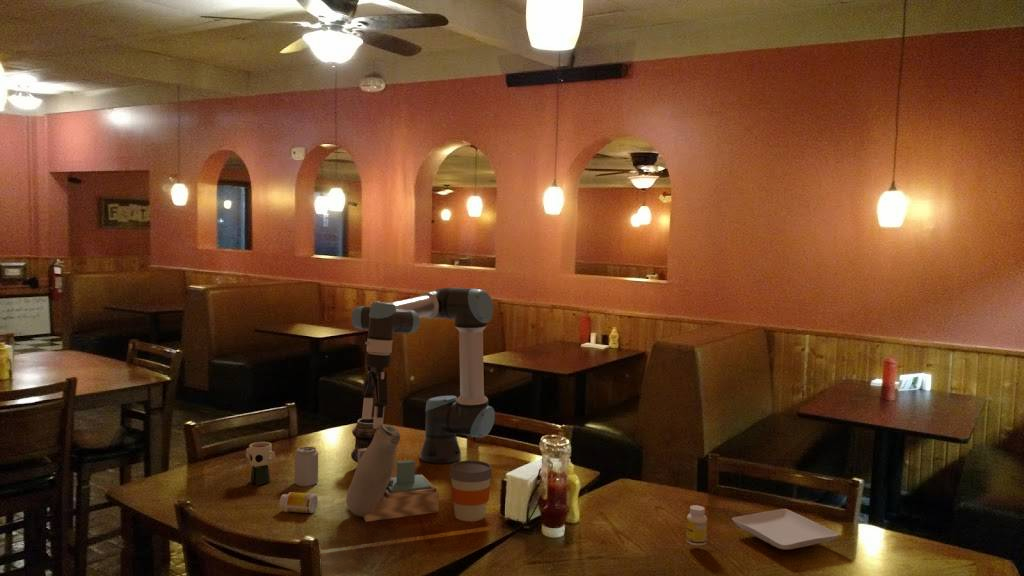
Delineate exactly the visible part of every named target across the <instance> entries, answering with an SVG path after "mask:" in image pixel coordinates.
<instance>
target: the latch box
mask: <svg viewBox="0 0 1024 576" xmlns="http://www.w3.org/2000/svg"><path fill="white" fill-rule="evenodd" d="M418 475H420V476H421V477H422V478H423V479H424V480H425V482H426V483H427V484H428V485H429V486H430V489H423V490H414V491H406V492H397V493H389V491H388V490H387V489H386V491H385V493H384V495H383V498H382V499H380V500H379V502H378V503H377V505H376V507H375V508H374V510H373V511H372V513H370V514H368V515H366V516H365V517H362V518H363V520H364V521H365V522H373V521H374V522H375V521H381V520H389V519H396V518H403V517H405V518H406V517H411V516H418V515H425V514H433V513H435V514H436V513H439V494H440V493H439V491H437V488H436V487H435V486H434V485H433V484H432V483H431V482H430V481H429V480H428V479H427V478H426V477H425V476H424V475H423V473H422V474H418Z"/></svg>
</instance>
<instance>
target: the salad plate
mask: <svg viewBox="0 0 1024 576" xmlns="http://www.w3.org/2000/svg"><path fill="white" fill-rule="evenodd" d="M731 521H733V523H734V524H735V525H736V526H738V527H740V528H741V529H742V530H744V531H747V532H748V533H749V534H751V535H752V536H754V537H756V538H758V539H760V540H762V541H764V542H765V543H767V544H769V545H771V546H773V547H775V548H777V549H780V550H795V549H799V548H804V547H809V546H813V545H817V544H821V543H822V544H823V543H827V542H831V541H834V540H835V539H837V538H838V537H839V536H840V534H839V533H838V532H836V531H834V530H832V529H830V528H827V527H826V526H823V525H822V524H819V523H818V522H816V521H813V520H811V519H810V518H807V517H805V516H804V515H801V514H798V513H797V512H794V511H792V510H790V509H787V508H779V509H774V510H768V511H762V512H757V513H751V514H745V515H739V516H734V517H732V518H731Z"/></svg>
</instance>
